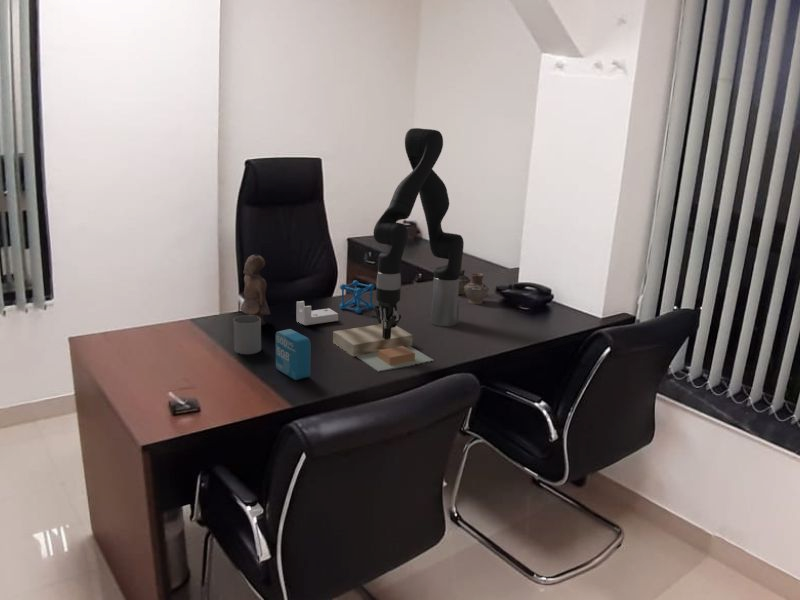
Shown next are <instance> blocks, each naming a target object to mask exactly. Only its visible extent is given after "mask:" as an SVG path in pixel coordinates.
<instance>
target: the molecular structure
mask: <svg viewBox="0 0 800 600" xmlns="http://www.w3.org/2000/svg"><path fill="white" fill-rule="evenodd" d="M351 286H353V287H354V288H353V287H351ZM357 286H362V287H364V288H361V287H357ZM339 289H340V290H341V303H340V304H339V309H340V310H345V309H348V310H351V311H355V313H356V314H361V313H362V311H364V310H367V309H369V310H372V309H374V308H375V305H374V304H373V290H374V289H375V285H374V284H373V283H369V284H363V283H360V282H359V281H358V280H356V279H354V280H353V281H352V283H349V284H344V283H341V284H340V285H339ZM345 291H346V292H347V293H349V294H350V295H352V296H353V297H352V298H351V299H350V300H348V301H347V302H345V303H344V300H345V299H344V298H345V296H344V295H345ZM352 291H353V292H352ZM368 291H370V293H369V302H367V301H366V300H365V299H363V298H361V296H362V295H364V293H367V292H368ZM351 305H354V306H356V308H353V307H350V306H351ZM360 305H361V306H364V307H360Z"/></svg>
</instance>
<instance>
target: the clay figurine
mask: <svg viewBox="0 0 800 600" xmlns="http://www.w3.org/2000/svg"><path fill="white" fill-rule="evenodd" d="M265 265H266V261H265V259H264V257H263V256H261V255H260V254H252V255H250V256H248V258H247V259H246V261H245V263H244V266H243V267H244V269H243V272H242V273H243V275H244V277H243V282H244V288H243V296H244V300H243V301H242V303H241V305H240V311H241V312H242V313H244V314H246V315H252V316H257V317H259V318H260V319H261V326H263V325H265V324H266V321H264V316H270V315H271V312H270V311H271V310H270V308H269V306H268V303H267V299H266V290H267V286H268V285H267V281H266V279H264V278H263V277H262V276H261V275H260V270H262V269H263V268H264V267H265Z"/></svg>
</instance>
